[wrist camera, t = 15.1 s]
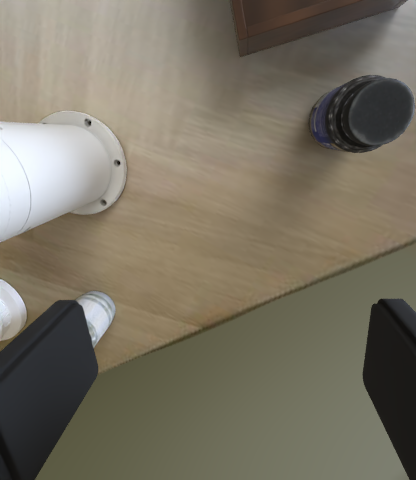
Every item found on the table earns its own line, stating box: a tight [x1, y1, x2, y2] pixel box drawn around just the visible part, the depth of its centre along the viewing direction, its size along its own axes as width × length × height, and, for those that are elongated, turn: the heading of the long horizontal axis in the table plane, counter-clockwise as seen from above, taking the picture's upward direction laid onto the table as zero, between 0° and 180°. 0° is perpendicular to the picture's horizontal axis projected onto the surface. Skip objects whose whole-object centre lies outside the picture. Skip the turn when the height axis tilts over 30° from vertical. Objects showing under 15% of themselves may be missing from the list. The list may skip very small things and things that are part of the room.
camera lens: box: [75, 291, 115, 348], centre depth 41 cm, size 6×6×8 cm
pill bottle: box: [309, 75, 415, 153], centre depth 27 cm, size 6×6×11 cm
